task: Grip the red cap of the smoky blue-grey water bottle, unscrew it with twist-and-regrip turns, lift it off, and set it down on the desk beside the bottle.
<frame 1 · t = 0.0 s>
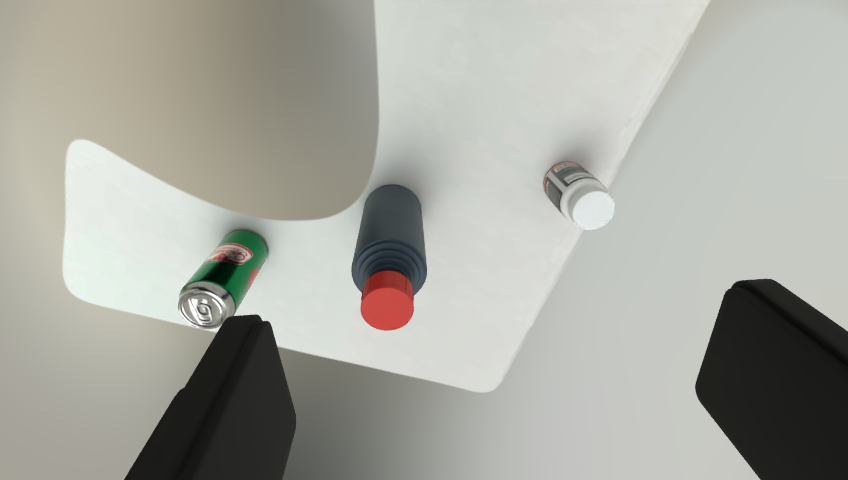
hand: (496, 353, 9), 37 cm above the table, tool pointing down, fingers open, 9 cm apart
soda can: (247, 246, 49), on the table
bottle: (392, 211, 48), on the table
pill bottle: (563, 181, 47), on the table
cap: (387, 306, 32), point 18 cm above the table, screwed on, not yet turned
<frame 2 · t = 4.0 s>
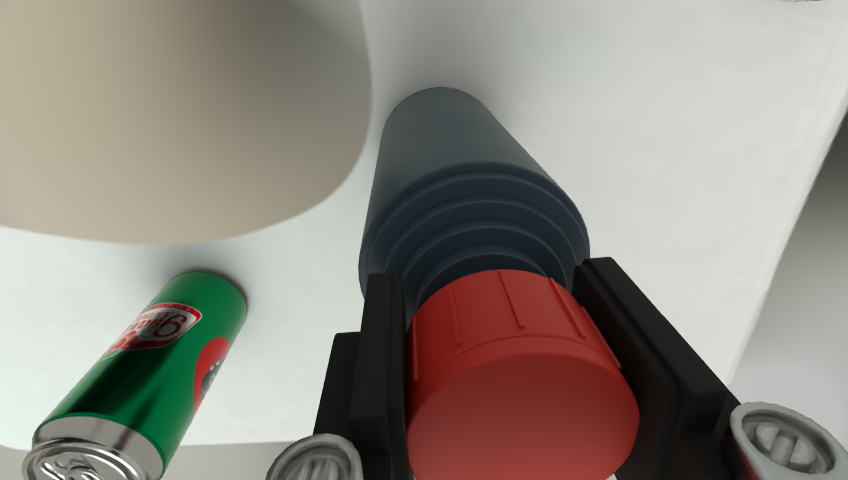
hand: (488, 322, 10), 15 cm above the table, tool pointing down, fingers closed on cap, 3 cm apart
soda can: (210, 299, 27), on the table
bottle: (439, 148, 23), on the table
cap: (516, 423, 7), point 18 cm above the table, screwed on, not yet turned, touching gripper
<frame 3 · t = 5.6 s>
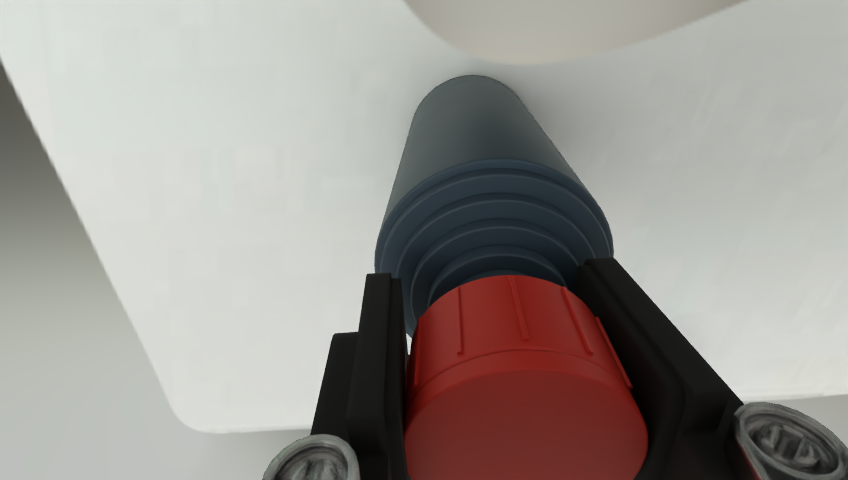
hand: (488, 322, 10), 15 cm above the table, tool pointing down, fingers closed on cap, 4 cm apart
bottle: (469, 138, 23), on the table, touching gripper
cap: (518, 435, 7), point 18 cm above the table, turned 86° so far, risen 0.1 cm, still on its thread, touching gripper
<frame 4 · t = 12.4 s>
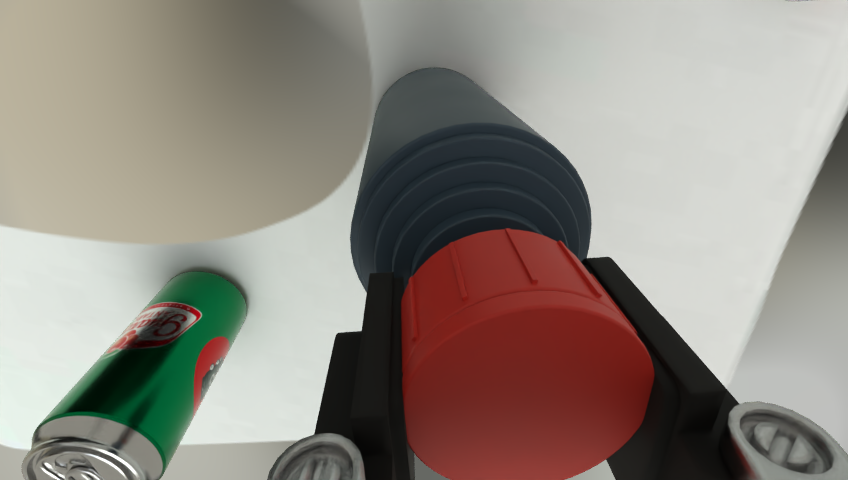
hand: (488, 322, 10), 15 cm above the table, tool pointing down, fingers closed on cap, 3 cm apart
soda can: (210, 298, 27), on the table
bottle: (433, 131, 23), on the table
cap: (521, 391, 7), point 18 cm above the table, turned 87° so far, risen 0.1 cm, still on its thread, touching gripper
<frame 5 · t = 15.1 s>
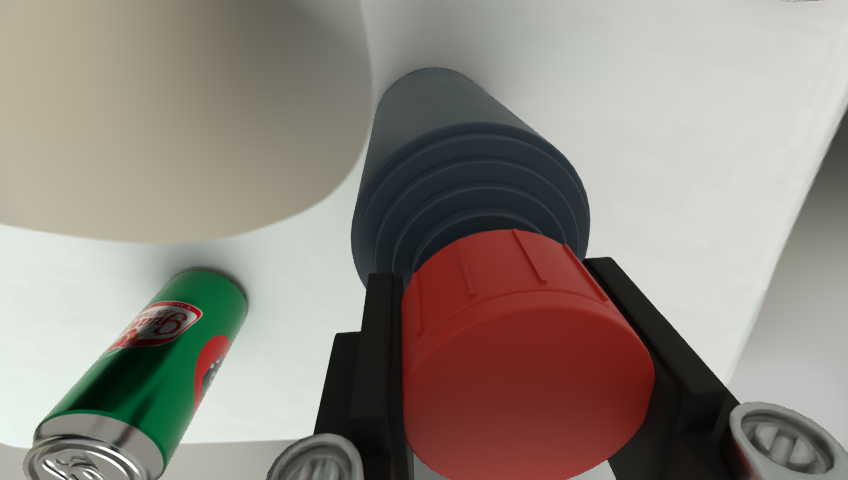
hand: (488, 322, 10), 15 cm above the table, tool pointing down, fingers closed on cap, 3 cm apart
soda can: (210, 297, 27), on the table
bottle: (433, 131, 23), on the table
cap: (521, 391, 7), point 18 cm above the table, turned 173° so far, risen 0.2 cm, still on its thread, touching gripper
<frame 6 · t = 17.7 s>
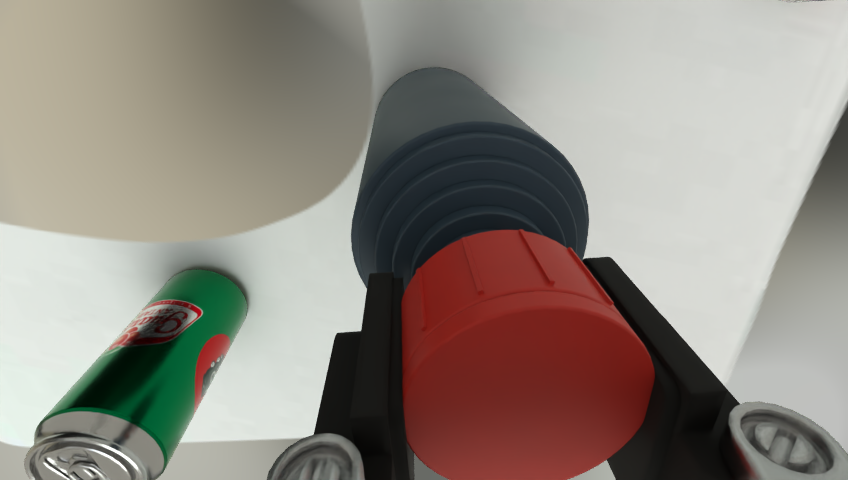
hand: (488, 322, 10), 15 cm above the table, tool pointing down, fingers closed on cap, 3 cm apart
soda can: (210, 296, 27), on the table
bottle: (433, 131, 23), on the table
cap: (521, 391, 7), point 18 cm above the table, turned 260° so far, risen 0.3 cm, still on its thread, touching gripper
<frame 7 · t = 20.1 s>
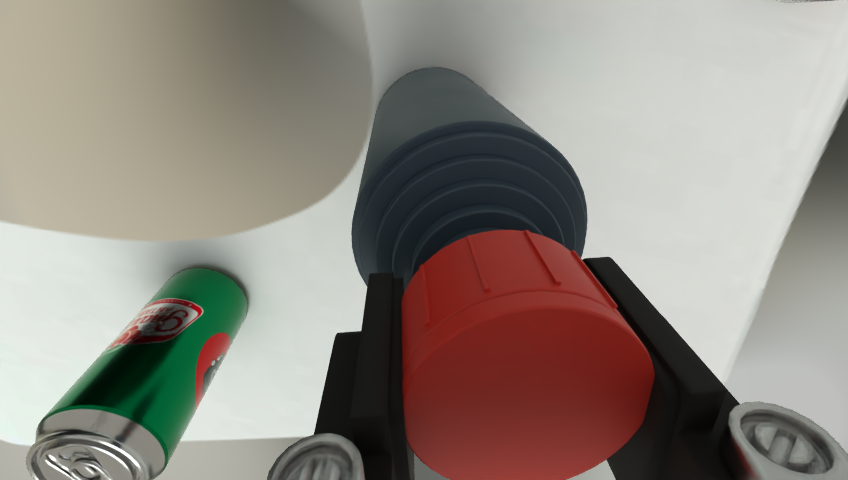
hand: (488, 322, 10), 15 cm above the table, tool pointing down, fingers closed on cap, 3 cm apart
soda can: (211, 295, 28), on the table
bottle: (433, 130, 23), on the table
cap: (521, 391, 7), point 18 cm above the table, turned 347° so far, risen 0.4 cm, still on its thread, touching gripper
when the fingers open (1 cm above the table, at t = 31.4 s): cap drops 2 cm, point 2 cm above the table.
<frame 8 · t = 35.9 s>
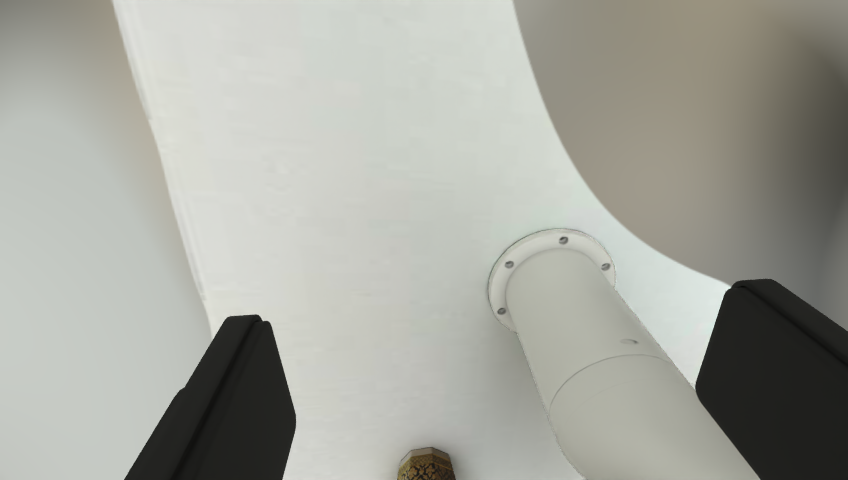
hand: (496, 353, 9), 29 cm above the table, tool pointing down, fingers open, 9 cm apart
ceramic cup: (435, 466, 56), on the table
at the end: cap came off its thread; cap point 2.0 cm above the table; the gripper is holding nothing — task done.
